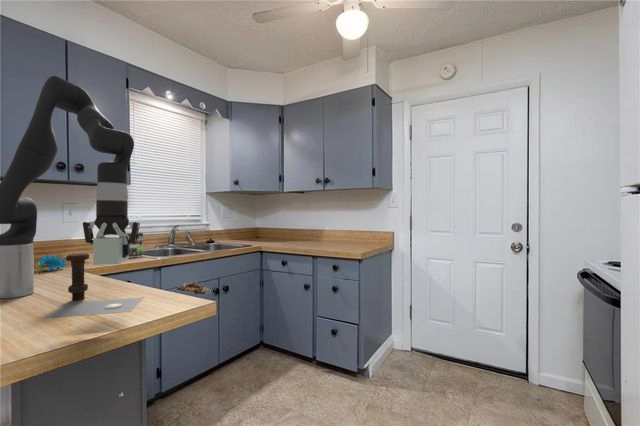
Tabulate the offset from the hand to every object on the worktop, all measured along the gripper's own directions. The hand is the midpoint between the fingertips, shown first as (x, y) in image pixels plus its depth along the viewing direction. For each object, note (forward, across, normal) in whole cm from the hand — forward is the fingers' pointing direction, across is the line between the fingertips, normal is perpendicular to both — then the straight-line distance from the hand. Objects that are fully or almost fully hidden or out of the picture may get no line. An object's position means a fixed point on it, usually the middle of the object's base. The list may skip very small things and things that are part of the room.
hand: (112, 257), depth 90 cm
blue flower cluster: (+16, -48, +72) cm, 88 cm away
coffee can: (+16, -24, +108) cm, 112 cm away
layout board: (+15, -4, +1) cm, 16 cm away
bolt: (+16, -13, +11) cm, 23 cm away
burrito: (+16, +20, +16) cm, 30 cm away
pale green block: (+1, 0, 0) cm, 1 cm away
